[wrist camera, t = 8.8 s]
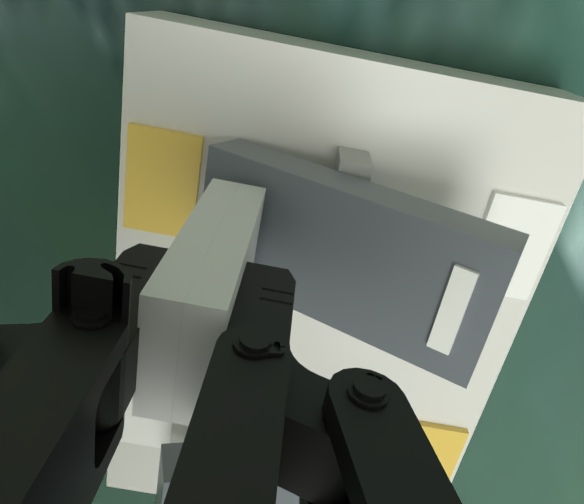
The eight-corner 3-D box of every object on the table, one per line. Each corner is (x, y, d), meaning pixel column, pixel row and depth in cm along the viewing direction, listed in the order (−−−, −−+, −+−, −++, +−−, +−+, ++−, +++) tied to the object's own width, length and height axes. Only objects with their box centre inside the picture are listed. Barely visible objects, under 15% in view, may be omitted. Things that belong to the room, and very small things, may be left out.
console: (134, 423, 28) (91, 520, 23) (161, 10, 19) (103, 13, 14) (413, 470, 28) (434, 576, 23) (560, 89, 20) (646, 120, 15)
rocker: (224, 249, 19) (191, 265, 17) (239, 138, 17) (205, 145, 15) (478, 360, 15) (465, 392, 14) (529, 234, 14) (520, 255, 12)
